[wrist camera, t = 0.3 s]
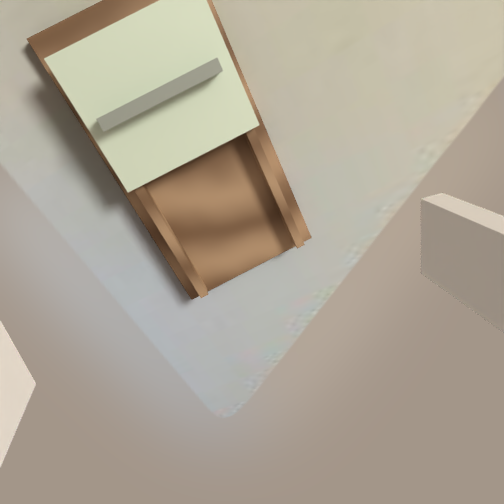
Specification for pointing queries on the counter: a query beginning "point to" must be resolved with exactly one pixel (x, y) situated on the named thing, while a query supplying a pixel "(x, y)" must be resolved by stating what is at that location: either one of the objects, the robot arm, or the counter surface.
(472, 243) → the robot arm
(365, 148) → the counter surface
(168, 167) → the lid
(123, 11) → the brown compartment box
